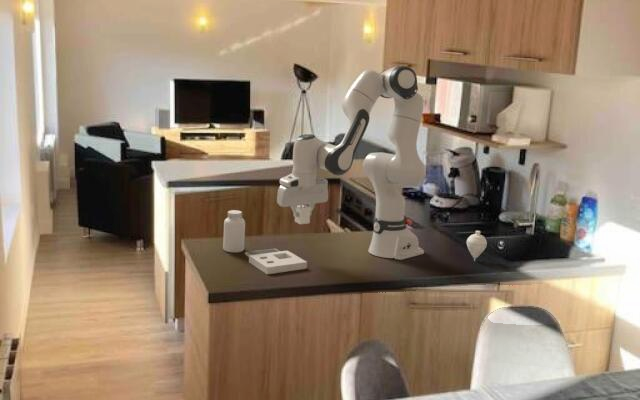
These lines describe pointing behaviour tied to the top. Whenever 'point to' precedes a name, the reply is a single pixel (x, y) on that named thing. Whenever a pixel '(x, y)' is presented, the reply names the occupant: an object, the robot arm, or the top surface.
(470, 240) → the spinning top
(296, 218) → the charger
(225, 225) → the pill bottle
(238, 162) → the top surface
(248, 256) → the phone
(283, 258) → the outlet plate
